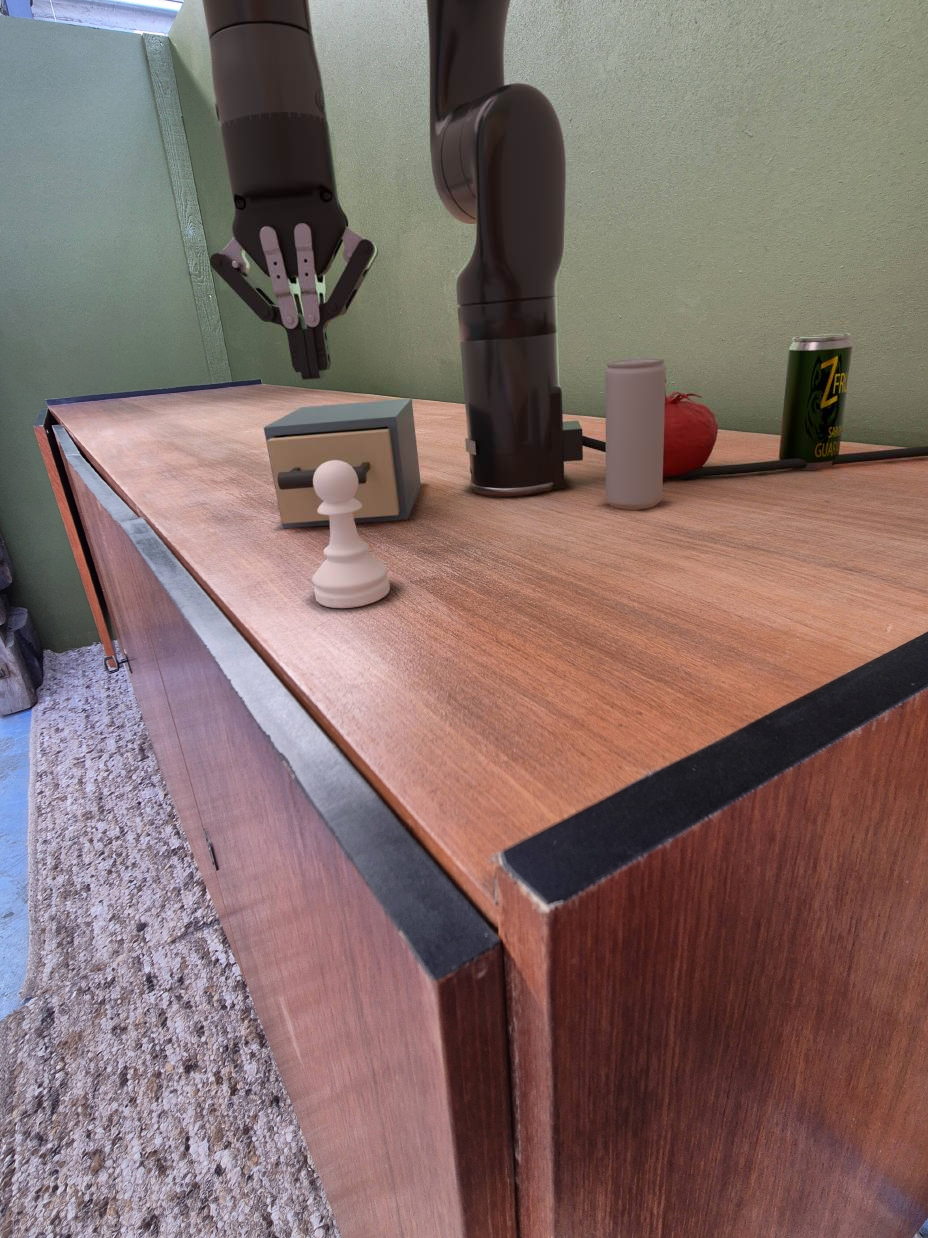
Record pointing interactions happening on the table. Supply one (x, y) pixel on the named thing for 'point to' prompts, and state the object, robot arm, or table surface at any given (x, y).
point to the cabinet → (361, 417)
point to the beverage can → (634, 432)
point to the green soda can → (815, 399)
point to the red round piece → (686, 434)
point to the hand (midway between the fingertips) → (313, 377)
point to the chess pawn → (345, 544)
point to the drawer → (308, 451)
